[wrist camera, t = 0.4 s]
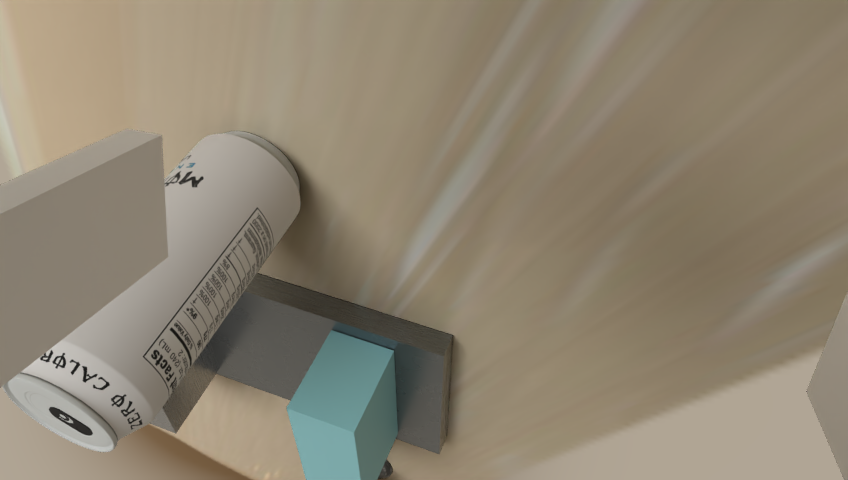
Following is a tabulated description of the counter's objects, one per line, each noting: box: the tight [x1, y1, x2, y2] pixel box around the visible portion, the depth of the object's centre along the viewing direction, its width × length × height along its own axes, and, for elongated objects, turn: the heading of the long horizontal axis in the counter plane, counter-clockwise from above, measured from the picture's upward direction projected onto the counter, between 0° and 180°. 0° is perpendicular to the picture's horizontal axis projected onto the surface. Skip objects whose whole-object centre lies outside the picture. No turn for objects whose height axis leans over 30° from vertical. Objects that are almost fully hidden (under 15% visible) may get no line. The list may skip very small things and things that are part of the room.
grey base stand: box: [150, 273, 453, 454], centre depth 46 cm, size 12×22×7 cm, turn 90°
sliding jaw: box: [287, 330, 398, 480], centre depth 44 cm, size 10×4×6 cm, turn 0°
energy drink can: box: [2, 131, 301, 452], centre depth 32 cm, size 6×6×15 cm
